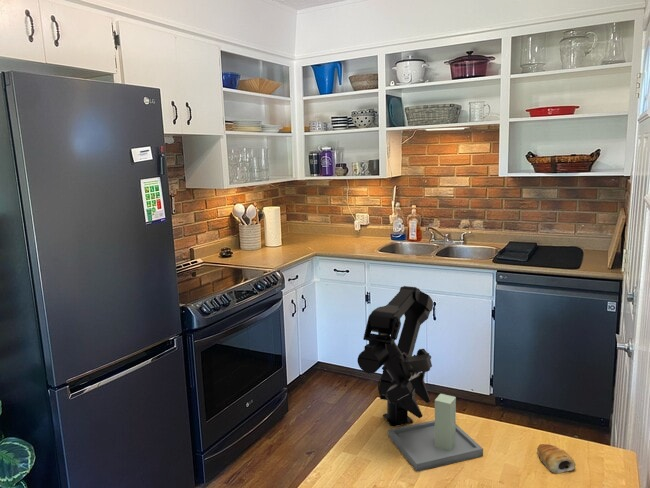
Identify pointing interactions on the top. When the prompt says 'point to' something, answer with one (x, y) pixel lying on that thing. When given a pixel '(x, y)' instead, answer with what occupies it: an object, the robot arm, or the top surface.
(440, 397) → the block
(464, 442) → the tray
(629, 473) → the top surface
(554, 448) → the pastry
